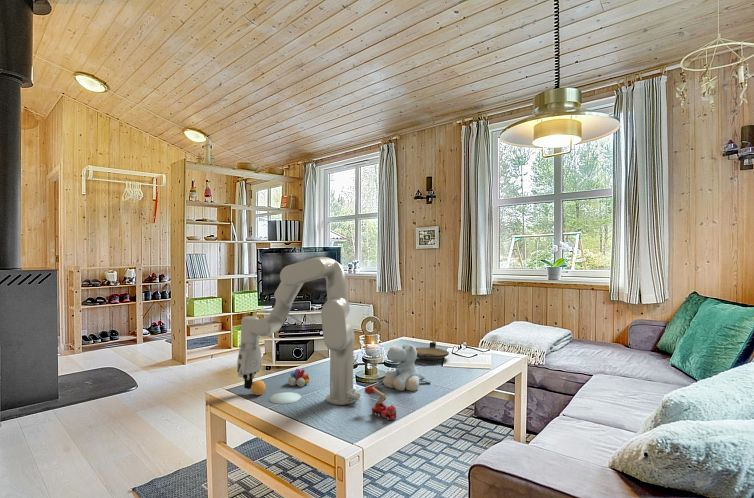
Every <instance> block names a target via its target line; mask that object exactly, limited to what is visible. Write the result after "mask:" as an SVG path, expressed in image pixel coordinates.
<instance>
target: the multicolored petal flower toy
mask: <svg viewBox="0 0 754 498" xmlns="http://www.w3.org/2000/svg"><path fill="white" fill-rule="evenodd" d="M305 371H306V370H305V369H301V370H300V369H299V368H296V369H295V370H294V371H293V370H292V371H290V374H289V375H290V377H288V381H287V382H288V385H289V386H290V387H295V386H296V385H297V386H298V387H301V388H303V387H305V385H308V384H309V382H310V380H311V379H310V376H309V373H305Z"/></svg>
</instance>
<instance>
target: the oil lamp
mask: <svg viewBox="0 0 754 498" xmlns="http://www.w3.org/2000/svg"><path fill="white" fill-rule="evenodd" d="M436 346H437V341H436V339H433V340H432V341H431V342H429V347H415V348H416V350H417V357H416V359H417V358H418V359H420V360H423V359H424V361H437V360H441V359H443V358H445V357H447V356H449V355H450V352H449V351H447V350H446V349H442V348H437V347H436Z"/></svg>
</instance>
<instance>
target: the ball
mask: <svg viewBox="0 0 754 498" xmlns="http://www.w3.org/2000/svg"><path fill="white" fill-rule="evenodd" d="M250 391H251V393H252V394H254V396H259V395H262V394H264V393H265V391H266V384H265V382H264V381H263V380H261V379H260V380H259V379H258V380H255V381H253V382H252V386H251V389H250Z"/></svg>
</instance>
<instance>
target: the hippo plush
mask: <svg viewBox="0 0 754 498" xmlns="http://www.w3.org/2000/svg"><path fill="white" fill-rule="evenodd" d="M416 348H417V347H415V345H413V344H411V343H405V344H403V345H402V346H399V345H393V346H391V347H390V348H389V349H388V352H387V358H388V359H389V361H391V362H392V363H395V364H396V363H399V364H398V365H397V367H396V368H395V370H388V371H386V373H385V376H384V378H383V380H382V382H383V384H384V386H385V387H387V388H388V387H389V389H395V390H397V391H398V390H399V391H398V392H402V391H403V390H404V391H405V390H407V391H409V390H410V392H414V391H415V392H416V391H417V390H418V389H419V386H420V383H424V382H425V383H424V384H431V381H427V380H420V379H425V378H426V377H425V375H424V374H422V373H420V372H419V371H418V369H417V368H416V367H415V366H416V364H415V362H416V359H417V350H416ZM416 389H417V390H416Z"/></svg>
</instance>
